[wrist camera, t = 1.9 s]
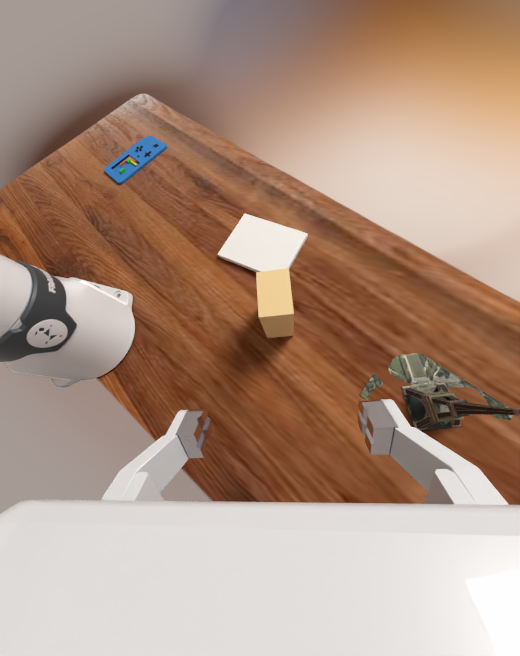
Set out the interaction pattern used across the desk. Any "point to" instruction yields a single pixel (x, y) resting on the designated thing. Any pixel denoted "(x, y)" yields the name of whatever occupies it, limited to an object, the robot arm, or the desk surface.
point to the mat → (262, 245)
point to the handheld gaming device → (135, 159)
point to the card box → (275, 302)
